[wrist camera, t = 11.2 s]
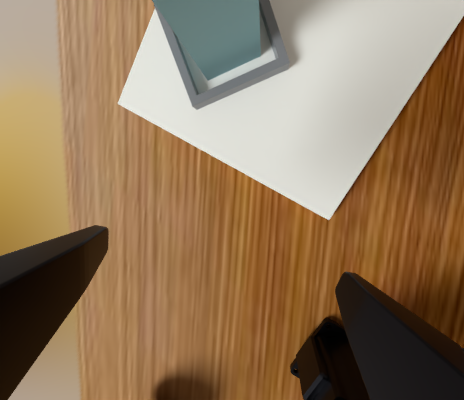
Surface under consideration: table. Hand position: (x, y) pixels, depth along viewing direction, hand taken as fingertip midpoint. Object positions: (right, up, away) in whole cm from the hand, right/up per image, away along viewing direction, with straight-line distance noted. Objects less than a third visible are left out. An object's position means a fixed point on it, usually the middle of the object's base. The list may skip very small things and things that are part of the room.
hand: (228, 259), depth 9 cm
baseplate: (+4, +14, +9) cm, 18 cm away
